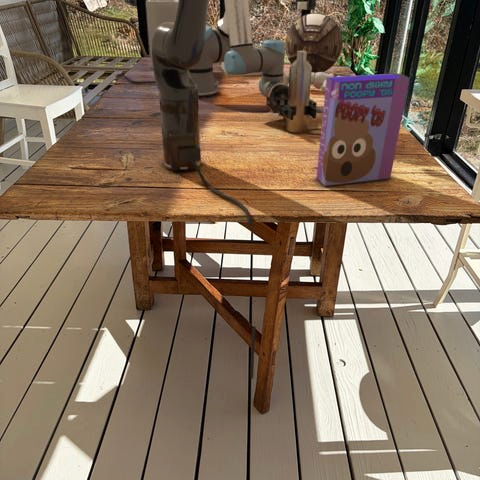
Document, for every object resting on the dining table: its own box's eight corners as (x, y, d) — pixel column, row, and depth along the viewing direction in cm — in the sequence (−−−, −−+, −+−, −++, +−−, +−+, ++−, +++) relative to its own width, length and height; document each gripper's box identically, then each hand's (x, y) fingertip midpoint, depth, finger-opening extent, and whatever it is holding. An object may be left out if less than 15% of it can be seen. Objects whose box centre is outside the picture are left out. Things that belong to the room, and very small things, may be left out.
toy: (311, 101, 176) (313, 82, 172) (274, 86, 194) (275, 69, 190) (361, 94, 186) (364, 75, 182) (322, 80, 204) (323, 63, 201)
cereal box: (324, 186, 112) (336, 81, 99) (316, 178, 116) (326, 76, 103) (390, 178, 116) (409, 77, 103) (379, 171, 120) (397, 72, 107)
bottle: (306, 126, 150) (312, 49, 139) (307, 133, 145) (313, 53, 133) (286, 126, 151) (290, 49, 139) (286, 132, 145) (290, 53, 134)
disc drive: (278, 75, 213) (279, 63, 210) (229, 76, 208) (229, 64, 206) (267, 67, 228) (267, 55, 225) (221, 68, 223) (221, 57, 220)
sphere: (341, 70, 223) (348, 11, 211) (336, 82, 203) (343, 17, 190) (288, 66, 229) (292, 9, 216) (278, 77, 208) (281, 14, 196)
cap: (296, 9, 128) (296, 2, 127) (298, 7, 132) (298, 1, 131) (311, 9, 127) (311, 3, 126) (313, 8, 131) (313, 1, 130)
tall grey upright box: (195, 63, 233) (193, -1, 218) (192, 69, 220) (189, 2, 206) (156, 62, 233) (152, -2, 219) (150, 68, 221) (145, 1, 206)
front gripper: (341, -66, 118) (333, 11, 127) (302, -65, 128) (297, 6, 136) (320, -67, 114) (313, 12, 123) (281, -66, 124) (277, 7, 132)
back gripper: (306, 104, 164) (333, 125, 144) (251, 107, 160) (271, 129, 140) (308, 82, 160) (336, 100, 140) (252, 84, 156) (272, 103, 137)
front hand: (304, 8), depth 129 cm, fingers closed on cap, 4 cm apart
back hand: (303, 114), depth 140 cm, fingers closed on bottle, 6 cm apart
